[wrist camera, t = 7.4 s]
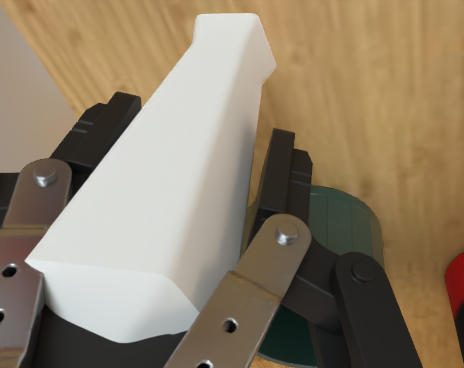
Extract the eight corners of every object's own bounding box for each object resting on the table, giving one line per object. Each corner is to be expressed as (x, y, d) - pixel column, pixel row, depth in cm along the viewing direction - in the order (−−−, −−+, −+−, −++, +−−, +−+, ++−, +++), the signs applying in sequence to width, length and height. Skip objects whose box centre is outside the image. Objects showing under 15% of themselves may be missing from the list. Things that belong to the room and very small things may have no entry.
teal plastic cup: (222, 196, 29) (196, 293, 24) (370, 174, 26) (380, 284, 20) (277, 297, 38) (267, 387, 32) (395, 292, 34) (406, 393, 28)
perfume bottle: (188, 100, 19) (8, 475, 9) (170, 6, 16) (-133, 407, 6) (284, 103, 18) (210, 524, 8) (284, 4, 15) (165, 472, 5)
